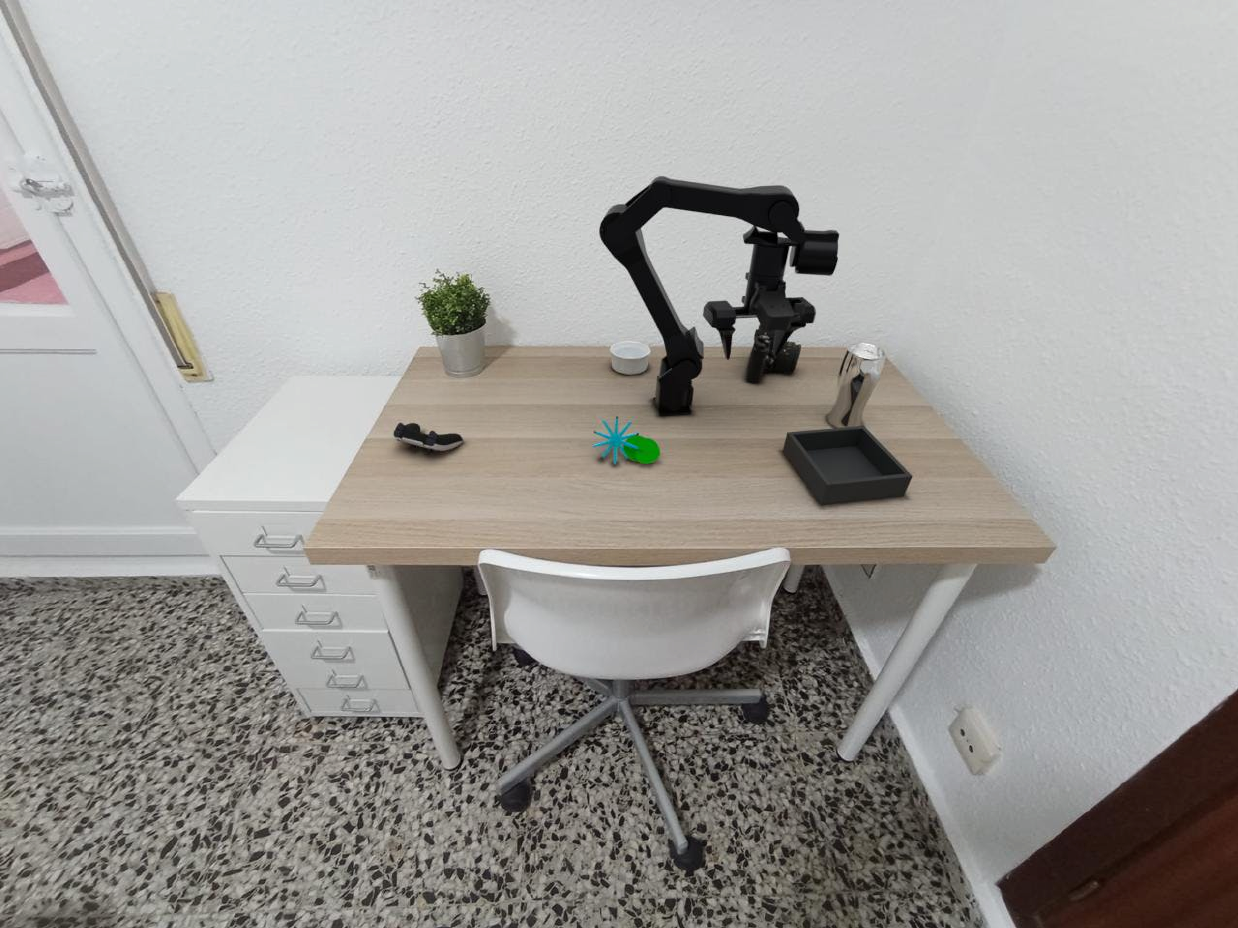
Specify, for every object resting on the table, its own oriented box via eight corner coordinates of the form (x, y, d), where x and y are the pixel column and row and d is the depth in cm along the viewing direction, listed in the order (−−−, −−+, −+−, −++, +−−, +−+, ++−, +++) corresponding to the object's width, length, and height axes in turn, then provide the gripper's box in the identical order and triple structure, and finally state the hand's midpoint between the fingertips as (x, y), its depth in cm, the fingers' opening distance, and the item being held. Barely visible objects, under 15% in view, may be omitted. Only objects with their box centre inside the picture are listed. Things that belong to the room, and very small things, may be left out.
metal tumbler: (870, 428, 105) (896, 356, 95) (839, 434, 103) (863, 361, 94) (847, 410, 110) (870, 340, 101) (817, 415, 108) (838, 344, 99)
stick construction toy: (585, 453, 92) (601, 409, 92) (586, 452, 99) (601, 411, 99) (652, 478, 93) (668, 434, 92) (648, 475, 100) (663, 434, 99)
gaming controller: (408, 447, 100) (383, 439, 93) (415, 423, 100) (391, 414, 94) (459, 460, 97) (437, 453, 90) (466, 436, 97) (444, 427, 91)
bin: (820, 505, 86) (827, 484, 84) (782, 451, 98) (787, 432, 95) (904, 496, 89) (913, 476, 86) (857, 445, 100) (863, 425, 98)
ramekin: (612, 356, 126) (613, 339, 124) (651, 360, 126) (652, 342, 123) (606, 374, 119) (607, 356, 117) (647, 378, 119) (648, 360, 116)
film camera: (806, 389, 116) (818, 345, 110) (748, 387, 116) (756, 344, 110) (787, 352, 131) (796, 311, 125) (735, 350, 130) (742, 310, 124)
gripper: (729, 290, 84) (716, 381, 93) (842, 285, 87) (818, 374, 96) (707, 267, 92) (697, 352, 102) (810, 263, 95) (791, 347, 105)
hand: (751, 357), depth 101 cm, fingers open, 9 cm apart
